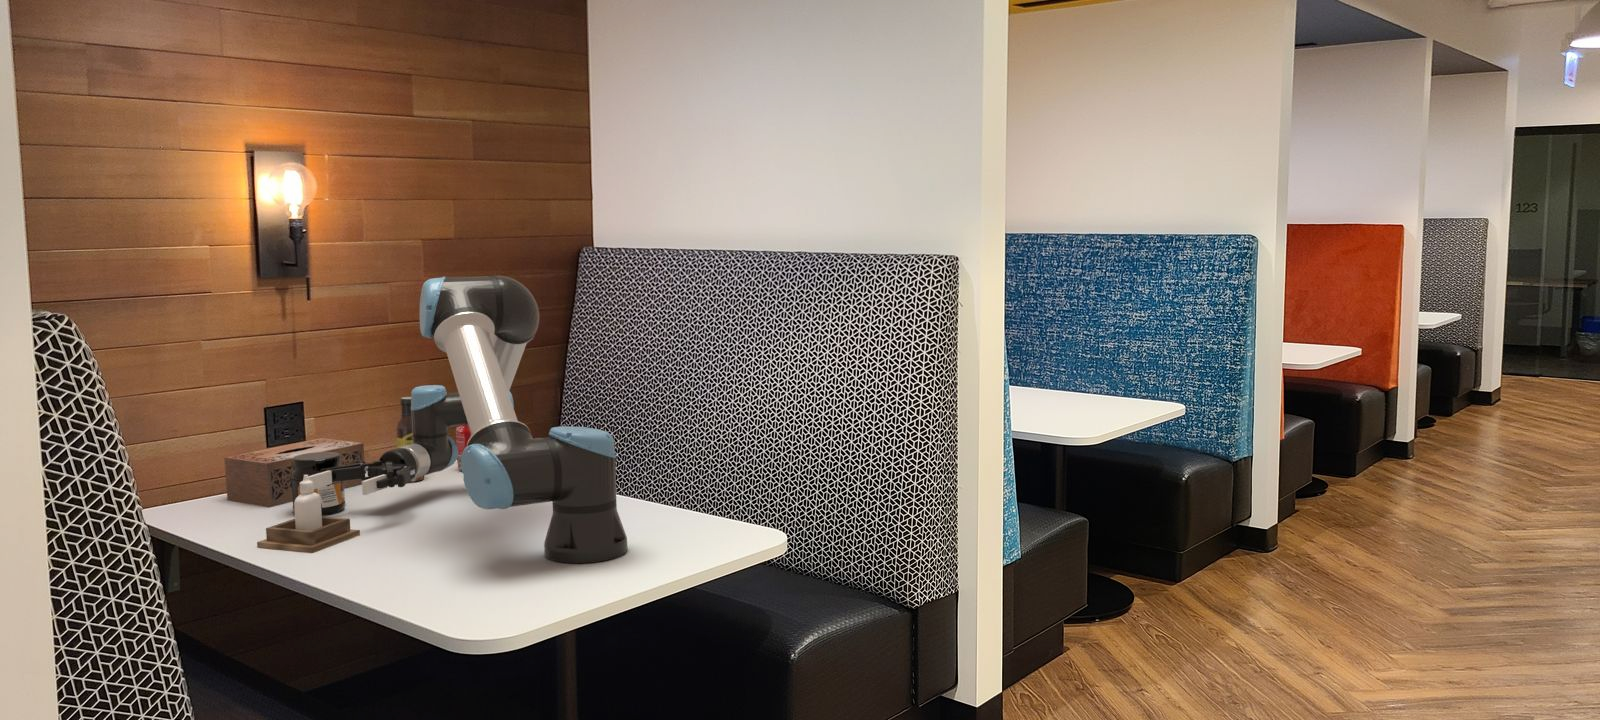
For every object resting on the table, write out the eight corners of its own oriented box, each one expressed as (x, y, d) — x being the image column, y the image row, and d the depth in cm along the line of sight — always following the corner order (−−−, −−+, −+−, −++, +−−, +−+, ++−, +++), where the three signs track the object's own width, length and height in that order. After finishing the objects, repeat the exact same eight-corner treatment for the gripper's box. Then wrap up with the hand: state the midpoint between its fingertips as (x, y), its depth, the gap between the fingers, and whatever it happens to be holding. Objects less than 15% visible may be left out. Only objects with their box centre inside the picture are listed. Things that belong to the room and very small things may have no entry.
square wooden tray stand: (359, 535, 231) (358, 517, 231) (312, 552, 219) (311, 534, 219) (306, 530, 236) (305, 513, 235) (257, 547, 223) (256, 529, 223)
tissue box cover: (269, 508, 255) (266, 463, 254) (227, 501, 262) (224, 457, 261) (365, 484, 277) (363, 443, 276) (324, 478, 284) (322, 438, 283)
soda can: (491, 466, 295) (489, 419, 293) (480, 473, 288) (478, 424, 286) (463, 466, 295) (461, 419, 294) (452, 472, 288) (450, 424, 287)
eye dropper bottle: (290, 537, 227) (286, 476, 225) (318, 531, 231) (314, 471, 230) (300, 540, 224) (296, 479, 222) (329, 534, 228) (325, 474, 227)
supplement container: (334, 517, 246) (331, 460, 245) (284, 517, 246) (280, 461, 245) (353, 504, 257) (350, 450, 255) (305, 505, 257) (301, 451, 255)
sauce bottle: (409, 484, 276) (405, 400, 274) (392, 481, 279) (387, 398, 277) (431, 478, 282) (427, 396, 279) (414, 476, 285) (410, 395, 283)
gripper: (453, 485, 250) (388, 508, 230) (356, 478, 258) (286, 500, 238) (451, 450, 250) (386, 471, 230) (354, 444, 258) (283, 463, 238)
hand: (335, 486), depth 234 cm, fingers open, 13 cm apart
